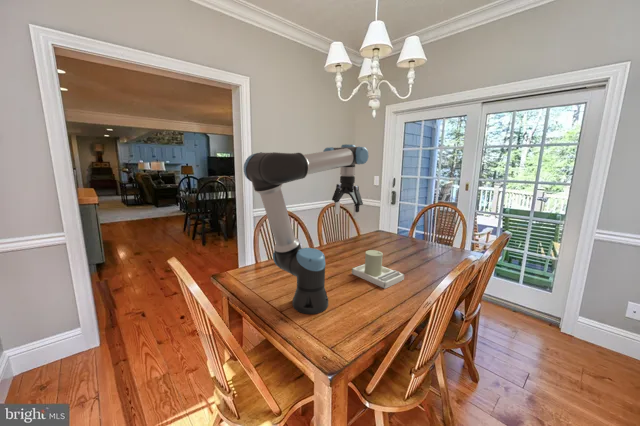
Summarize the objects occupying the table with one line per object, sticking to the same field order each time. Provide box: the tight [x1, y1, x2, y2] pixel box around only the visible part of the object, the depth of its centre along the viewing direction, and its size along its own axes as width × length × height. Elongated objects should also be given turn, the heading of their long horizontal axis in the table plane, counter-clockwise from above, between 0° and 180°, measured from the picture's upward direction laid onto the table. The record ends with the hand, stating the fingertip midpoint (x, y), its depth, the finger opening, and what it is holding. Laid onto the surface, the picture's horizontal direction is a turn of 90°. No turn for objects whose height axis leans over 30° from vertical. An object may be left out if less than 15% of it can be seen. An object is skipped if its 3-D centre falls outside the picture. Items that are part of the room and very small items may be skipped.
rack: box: [351, 263, 405, 290], centre depth 139 cm, size 16×22×4 cm
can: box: [364, 249, 384, 277], centre depth 140 cm, size 9×9×12 cm
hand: (346, 216), depth 139 cm, fingers open, 13 cm apart
